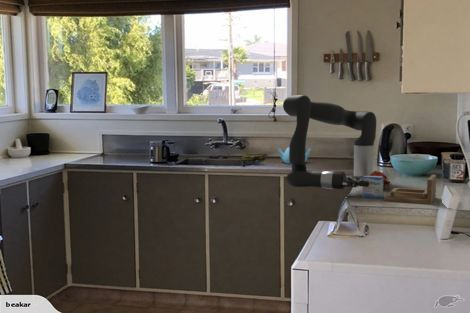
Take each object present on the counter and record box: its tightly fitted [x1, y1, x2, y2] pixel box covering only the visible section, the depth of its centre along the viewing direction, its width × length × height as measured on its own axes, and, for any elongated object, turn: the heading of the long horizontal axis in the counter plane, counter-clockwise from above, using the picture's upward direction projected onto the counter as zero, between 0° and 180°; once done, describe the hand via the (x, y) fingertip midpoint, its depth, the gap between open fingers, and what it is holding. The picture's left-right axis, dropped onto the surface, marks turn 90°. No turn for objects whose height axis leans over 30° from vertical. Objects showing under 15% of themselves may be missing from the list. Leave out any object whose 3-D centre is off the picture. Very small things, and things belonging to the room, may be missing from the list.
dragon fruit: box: [369, 170, 391, 189], centre depth 270 cm, size 8×8×12 cm
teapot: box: [277, 146, 312, 165], centre depth 358 cm, size 15×15×11 cm
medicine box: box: [362, 176, 384, 199], centre depth 251 cm, size 8×4×9 cm, turn 69°
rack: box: [383, 174, 437, 205], centre depth 245 cm, size 14×18×10 cm
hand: (371, 182), depth 251 cm, fingers open, 8 cm apart
